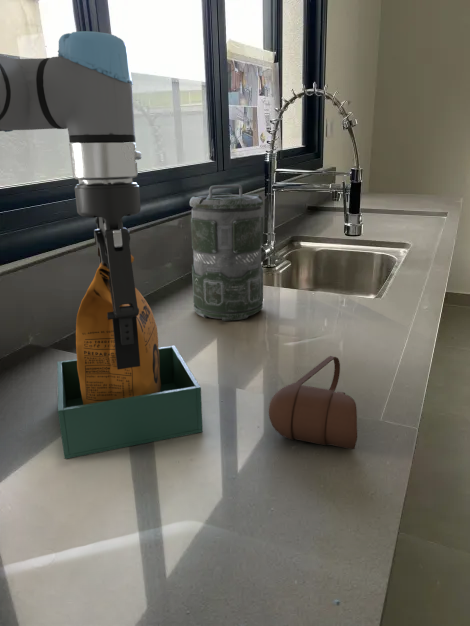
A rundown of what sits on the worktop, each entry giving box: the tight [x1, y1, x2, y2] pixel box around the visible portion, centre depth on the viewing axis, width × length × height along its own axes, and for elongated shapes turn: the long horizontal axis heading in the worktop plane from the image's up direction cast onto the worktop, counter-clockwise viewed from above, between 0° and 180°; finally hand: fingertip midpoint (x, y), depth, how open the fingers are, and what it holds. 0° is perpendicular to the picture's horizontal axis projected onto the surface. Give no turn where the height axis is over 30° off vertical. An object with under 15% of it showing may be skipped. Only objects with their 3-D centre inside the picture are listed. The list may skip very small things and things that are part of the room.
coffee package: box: [75, 254, 161, 405], centre depth 66 cm, size 10×12×22 cm
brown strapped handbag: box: [268, 355, 358, 450], centre depth 67 cm, size 18×12×7 cm, turn 157°
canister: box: [189, 184, 264, 322], centre depth 109 cm, size 16×16×28 cm
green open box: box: [56, 345, 204, 460], centre depth 68 cm, size 17×15×6 cm
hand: (121, 347), depth 66 cm, fingers open, 13 cm apart
